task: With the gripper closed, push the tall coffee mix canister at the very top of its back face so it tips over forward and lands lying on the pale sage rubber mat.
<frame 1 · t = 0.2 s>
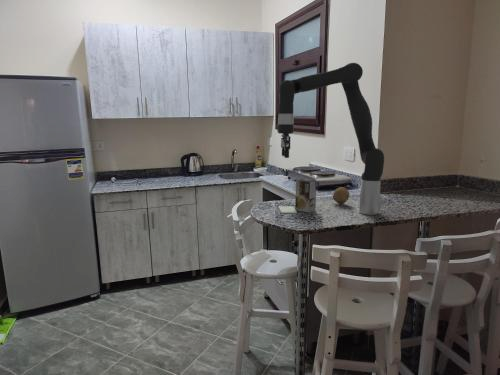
hand: (285, 156, 176), 29 cm above the breakfast bar, tool pointing down, fingers open, 8 cm apart
coffee box: (305, 210, 187), on the breakfast bar
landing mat: (287, 210, 187), on the breakfast bar
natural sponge: (340, 204, 200), on the breakfast bar
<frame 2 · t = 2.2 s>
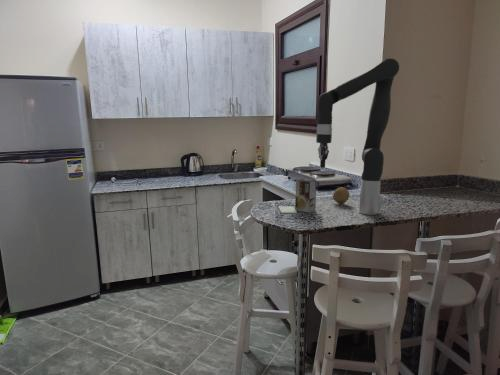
hand: (322, 167, 184), 23 cm above the breakfast bar, tool pointing down, fingers closed
nothing on the breakfast bar moved.
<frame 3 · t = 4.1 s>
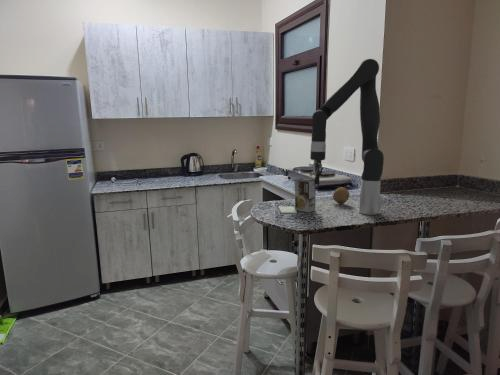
hand: (316, 183, 185), 14 cm above the breakfast bar, tool pointing down, fingers closed
coffee box: (305, 210, 187), on the breakfast bar, touching gripper
everything else where it was.
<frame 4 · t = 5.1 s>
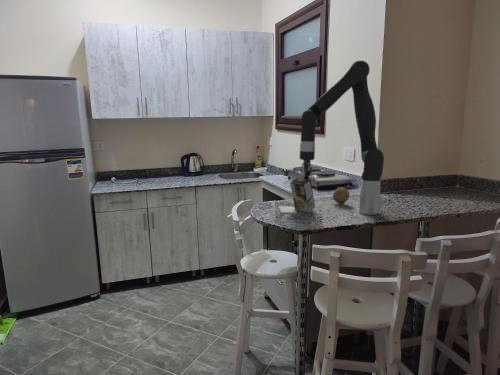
hand: (305, 183, 185), 14 cm above the breakfast bar, tool pointing down, fingers closed
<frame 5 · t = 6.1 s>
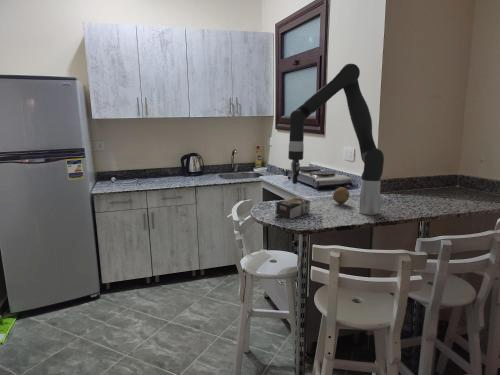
hand: (294, 183, 185), 14 cm above the breakfast bar, tool pointing down, fingers closed
coffee box: (303, 203, 184), point 4 cm above the breakfast bar, touching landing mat
everything else where it was.
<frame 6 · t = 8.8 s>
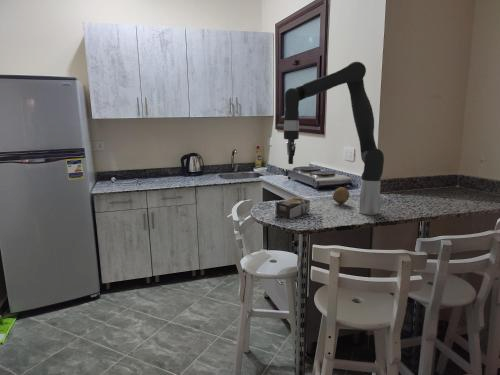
hand: (290, 163, 182), 25 cm above the breakfast bar, tool pointing down, fingers closed
nothing on the breakfast bar moved.
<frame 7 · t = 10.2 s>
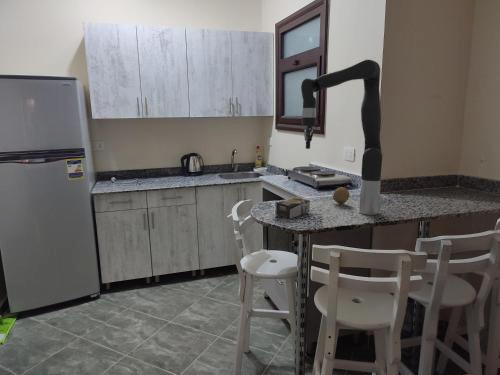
hand: (307, 148, 197), 31 cm above the breakfast bar, tool pointing down, fingers closed
nothing on the breakfast bar moved.
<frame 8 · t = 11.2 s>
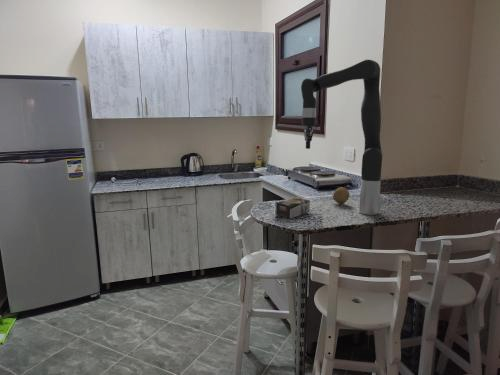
hand: (307, 148, 197), 31 cm above the breakfast bar, tool pointing down, fingers closed
nothing on the breakfast bar moved.
at the end: coffee box tilted 93°; coffee box touching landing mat, breakfast bar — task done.
